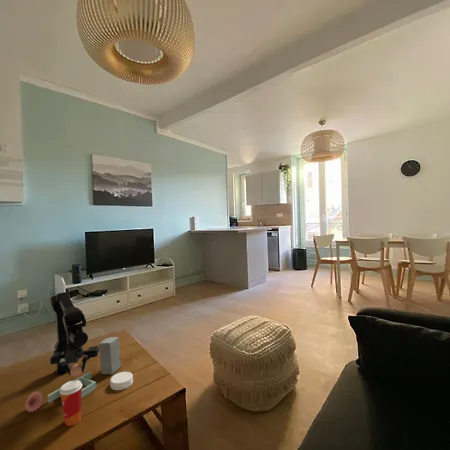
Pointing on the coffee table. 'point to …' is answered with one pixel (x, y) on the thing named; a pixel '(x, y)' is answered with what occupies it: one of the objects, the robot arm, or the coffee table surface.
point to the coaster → (121, 380)
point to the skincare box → (110, 355)
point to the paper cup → (71, 402)
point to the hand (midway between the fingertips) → (76, 373)
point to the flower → (34, 401)
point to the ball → (76, 370)
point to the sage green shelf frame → (86, 382)
